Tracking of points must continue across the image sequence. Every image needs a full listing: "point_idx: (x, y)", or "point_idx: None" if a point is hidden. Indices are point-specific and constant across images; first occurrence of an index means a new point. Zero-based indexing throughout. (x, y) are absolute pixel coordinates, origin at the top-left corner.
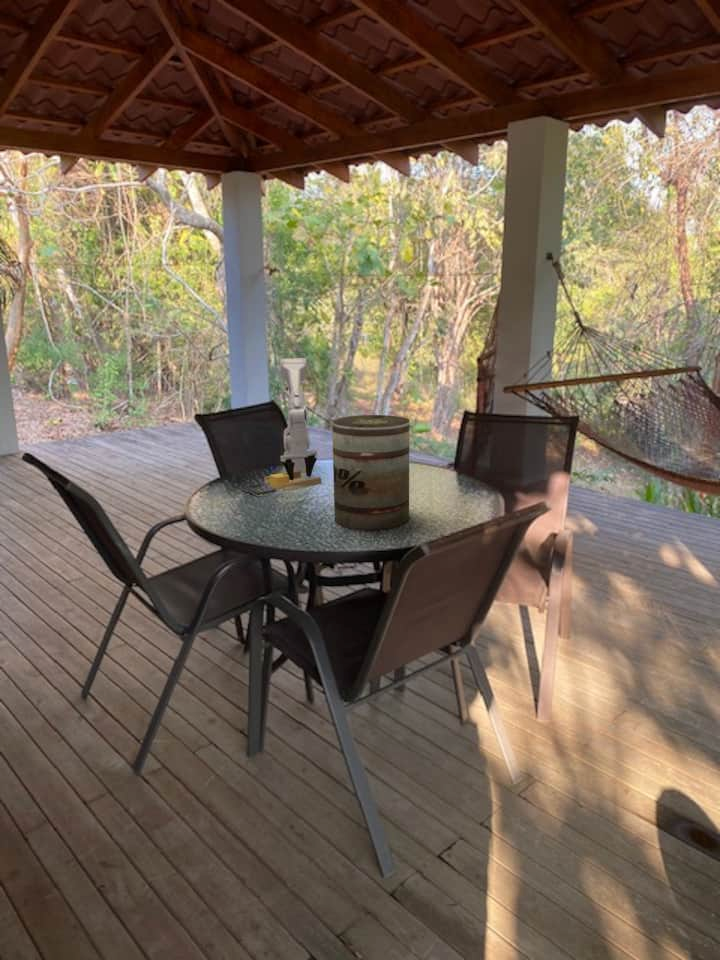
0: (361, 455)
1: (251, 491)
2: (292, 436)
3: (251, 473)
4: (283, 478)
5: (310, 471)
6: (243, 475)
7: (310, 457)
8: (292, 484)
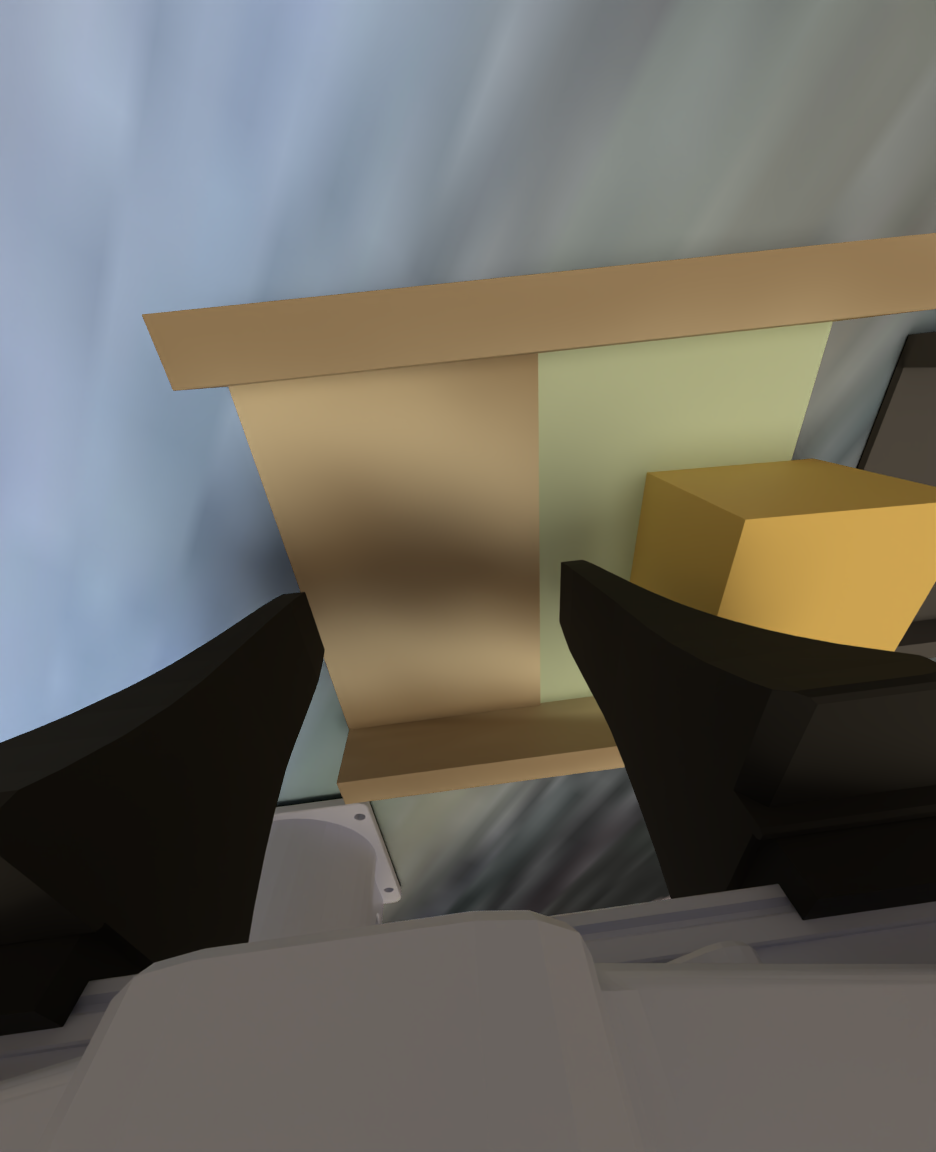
0: None
1: None
2: None
3: (569, 910)
4: (825, 497)
5: (260, 624)
6: (629, 896)
7: (36, 951)
8: (799, 252)
